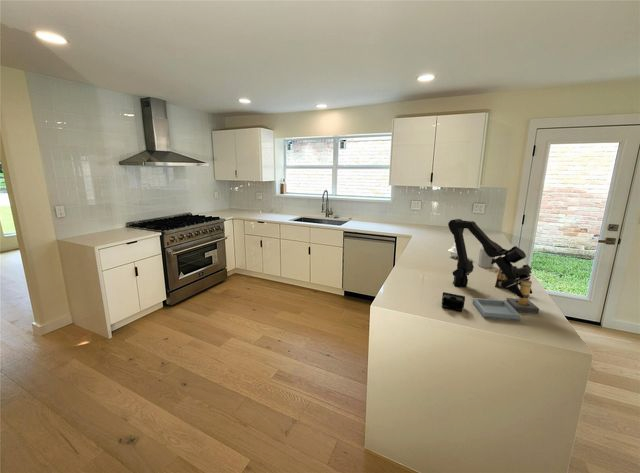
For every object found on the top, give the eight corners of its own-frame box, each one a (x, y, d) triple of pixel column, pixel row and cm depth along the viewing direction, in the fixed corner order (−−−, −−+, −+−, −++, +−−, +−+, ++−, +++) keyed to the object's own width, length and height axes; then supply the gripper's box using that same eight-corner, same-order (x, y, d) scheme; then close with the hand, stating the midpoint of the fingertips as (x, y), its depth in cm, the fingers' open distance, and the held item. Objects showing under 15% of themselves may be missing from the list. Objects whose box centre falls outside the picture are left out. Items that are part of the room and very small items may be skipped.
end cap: (463, 307, 142) (465, 294, 140) (463, 313, 136) (464, 300, 134) (442, 302, 146) (443, 290, 145) (440, 308, 140) (441, 295, 139)
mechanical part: (444, 256, 224) (446, 241, 221) (455, 254, 229) (457, 240, 226) (456, 260, 214) (458, 245, 211) (467, 258, 219) (469, 243, 216)
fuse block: (515, 311, 137) (516, 306, 137) (505, 302, 147) (506, 297, 146) (538, 313, 136) (539, 308, 135) (527, 304, 145) (528, 299, 145)
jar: (488, 264, 205) (492, 240, 201) (495, 269, 196) (499, 243, 191) (474, 263, 206) (478, 239, 202) (480, 268, 196) (484, 243, 192)
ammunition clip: (494, 287, 166) (498, 267, 163) (495, 286, 167) (498, 266, 165) (517, 291, 160) (520, 271, 157) (516, 290, 162) (520, 270, 159)
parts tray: (483, 318, 131) (484, 312, 130) (472, 303, 145) (473, 297, 145) (519, 321, 129) (520, 315, 128) (504, 305, 143) (505, 300, 142)
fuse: (518, 309, 140) (524, 282, 136) (514, 305, 144) (519, 279, 140) (528, 310, 139) (533, 283, 136) (523, 306, 143) (529, 280, 140)
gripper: (511, 263, 134) (534, 293, 128) (529, 256, 144) (551, 284, 137) (491, 273, 142) (512, 302, 136) (510, 267, 152) (529, 293, 146)
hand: (527, 295), depth 138 cm, fingers open, 9 cm apart
